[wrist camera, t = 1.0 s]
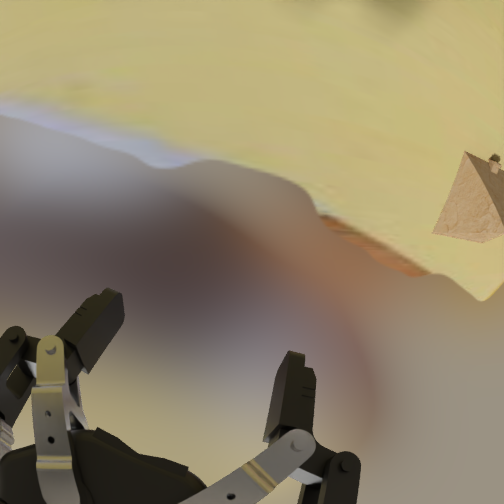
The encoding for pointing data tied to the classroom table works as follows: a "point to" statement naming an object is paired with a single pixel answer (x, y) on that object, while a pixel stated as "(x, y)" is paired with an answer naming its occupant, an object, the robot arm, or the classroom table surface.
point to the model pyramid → (474, 202)
